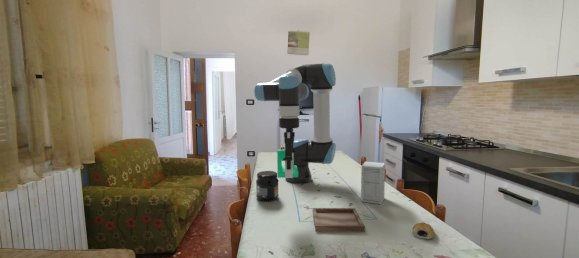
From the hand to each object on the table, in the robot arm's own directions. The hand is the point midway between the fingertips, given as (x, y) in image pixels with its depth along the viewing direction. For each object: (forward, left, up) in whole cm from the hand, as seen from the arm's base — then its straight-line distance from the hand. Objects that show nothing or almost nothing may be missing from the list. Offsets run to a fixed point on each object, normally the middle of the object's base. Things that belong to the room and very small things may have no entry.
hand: (289, 172), depth 109 cm
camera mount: (0, -1, -1) cm, 1 cm away
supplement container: (-22, -11, -19) cm, 31 cm away
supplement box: (-20, +38, -19) cm, 47 cm away
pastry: (+12, +46, -19) cm, 52 cm away
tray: (+3, +18, -18) cm, 26 cm away
